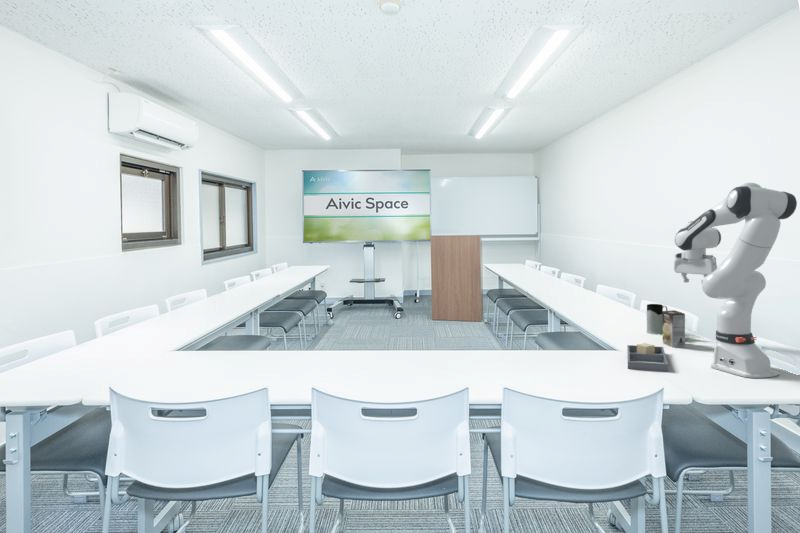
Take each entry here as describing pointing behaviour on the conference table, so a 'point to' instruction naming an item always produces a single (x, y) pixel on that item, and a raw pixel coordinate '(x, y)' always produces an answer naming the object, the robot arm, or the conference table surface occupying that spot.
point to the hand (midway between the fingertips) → (695, 283)
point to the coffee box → (673, 328)
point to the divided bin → (647, 359)
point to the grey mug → (654, 318)
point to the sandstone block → (646, 348)
